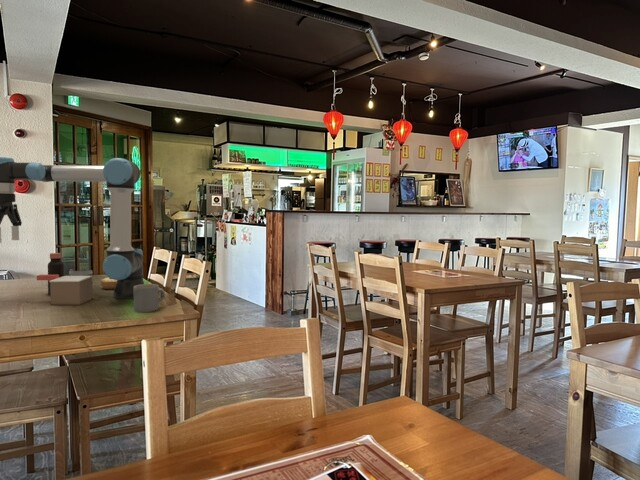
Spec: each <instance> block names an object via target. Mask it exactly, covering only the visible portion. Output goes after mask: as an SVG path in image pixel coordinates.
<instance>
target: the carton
mask: <svg viewBox="0 0 640 480" xmlns="http://www.w3.org/2000/svg"><path fill="white" fill-rule="evenodd" d="M50 293H51V295H50V306H80V305H83V304H84V303H85V304H86V302H89V301H91V300H93V277H92V278H88V279H86V280H83V281H81V282H51V283H50Z"/></svg>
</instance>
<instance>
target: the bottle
mask: <svg viewBox="0 0 640 480" xmlns="http://www.w3.org/2000/svg"><path fill="white" fill-rule="evenodd" d="M49 259H50V260H49V262H48V263H47V275H59V278H60V277H63V276H65V263H64V262H63V261H62V253H61V252H51V253H49ZM49 281H51V280H47V295H48V296H51V293H50V283H51V282H49Z"/></svg>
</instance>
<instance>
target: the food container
mask: <svg viewBox="0 0 640 480" xmlns="http://www.w3.org/2000/svg"><path fill="white" fill-rule="evenodd" d="M68 275H69V276H92V277H91V278H92V279H93V275H94V272H93V270H92V269H88V270H74V269H73V268H72V269H71V268H70V269H69V272H68Z"/></svg>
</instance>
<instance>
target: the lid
mask: <svg viewBox="0 0 640 480" xmlns="http://www.w3.org/2000/svg"><path fill="white" fill-rule="evenodd" d="M91 277H92V278H93V275H92V276H71V275H64V276H63V277H60V278H59V275H48V274H39V275H36V281H48V280H51V281H49V282H81V281H83V280H86V279H88V278H91Z"/></svg>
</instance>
